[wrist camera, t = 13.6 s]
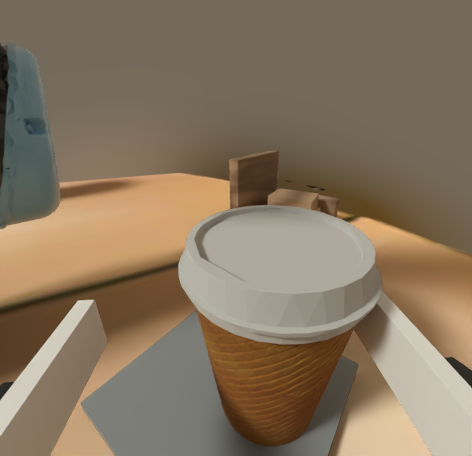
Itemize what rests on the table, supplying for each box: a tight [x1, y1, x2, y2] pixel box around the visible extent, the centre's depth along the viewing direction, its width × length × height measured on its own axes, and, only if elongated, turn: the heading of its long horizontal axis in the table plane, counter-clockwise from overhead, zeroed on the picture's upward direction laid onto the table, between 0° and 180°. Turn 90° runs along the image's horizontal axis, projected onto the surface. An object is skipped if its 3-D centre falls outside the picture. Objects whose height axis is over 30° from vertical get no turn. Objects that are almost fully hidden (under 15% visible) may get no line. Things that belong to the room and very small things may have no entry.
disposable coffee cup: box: [178, 205, 382, 446], centre depth 14 cm, size 10×10×12 cm
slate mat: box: [81, 310, 358, 456], centre depth 18 cm, size 14×14×1 cm
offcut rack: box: [229, 151, 339, 217], centre depth 41 cm, size 14×13×12 cm
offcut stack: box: [268, 189, 321, 212], centre depth 42 cm, size 8×6×5 cm
